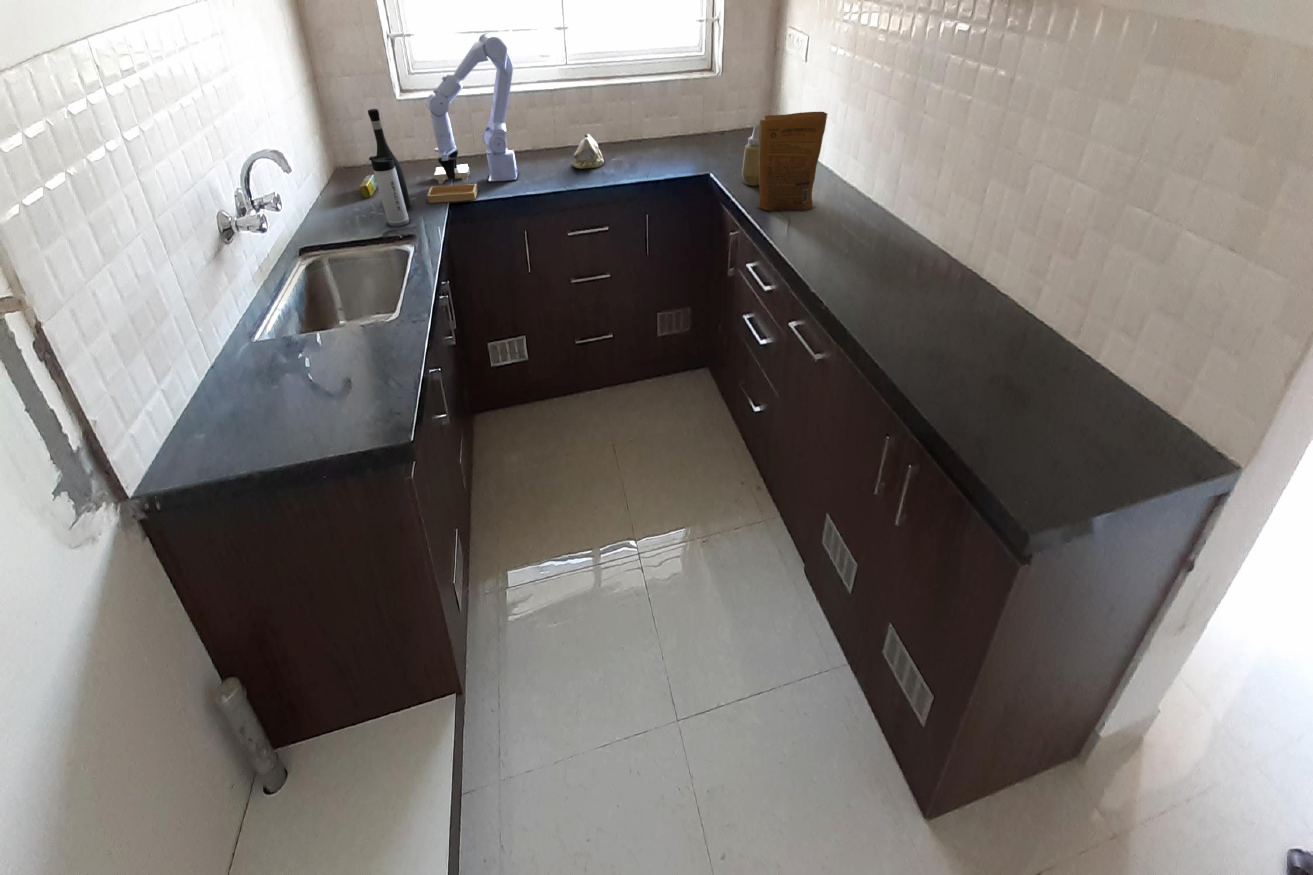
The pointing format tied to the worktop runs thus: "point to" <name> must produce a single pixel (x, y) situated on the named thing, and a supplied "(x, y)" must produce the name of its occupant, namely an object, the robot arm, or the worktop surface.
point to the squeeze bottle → (751, 159)
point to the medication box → (368, 186)
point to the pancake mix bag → (789, 159)
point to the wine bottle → (388, 153)
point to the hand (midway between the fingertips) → (452, 175)
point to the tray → (452, 193)
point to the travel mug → (390, 190)
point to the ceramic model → (588, 154)
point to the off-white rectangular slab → (459, 173)
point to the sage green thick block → (457, 166)
